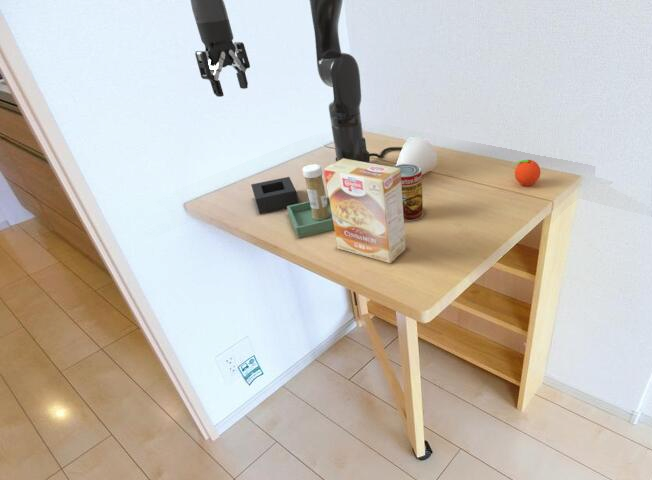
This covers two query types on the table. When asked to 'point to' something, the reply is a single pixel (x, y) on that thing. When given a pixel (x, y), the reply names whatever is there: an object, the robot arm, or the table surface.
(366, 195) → the coffeecake box
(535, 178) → the clementine
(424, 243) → the table surface
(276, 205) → the holder
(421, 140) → the rocket engine
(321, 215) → the spice jar
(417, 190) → the canned food
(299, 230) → the tray
